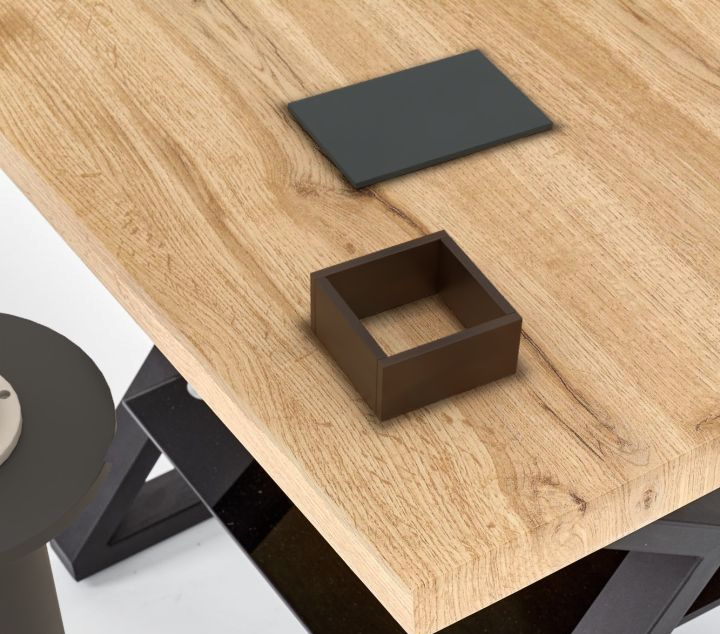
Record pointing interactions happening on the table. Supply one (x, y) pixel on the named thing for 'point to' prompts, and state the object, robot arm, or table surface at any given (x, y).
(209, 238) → the table surface
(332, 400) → the table surface
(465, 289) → the frame
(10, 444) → the robot arm
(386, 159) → the mat
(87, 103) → the table surface
